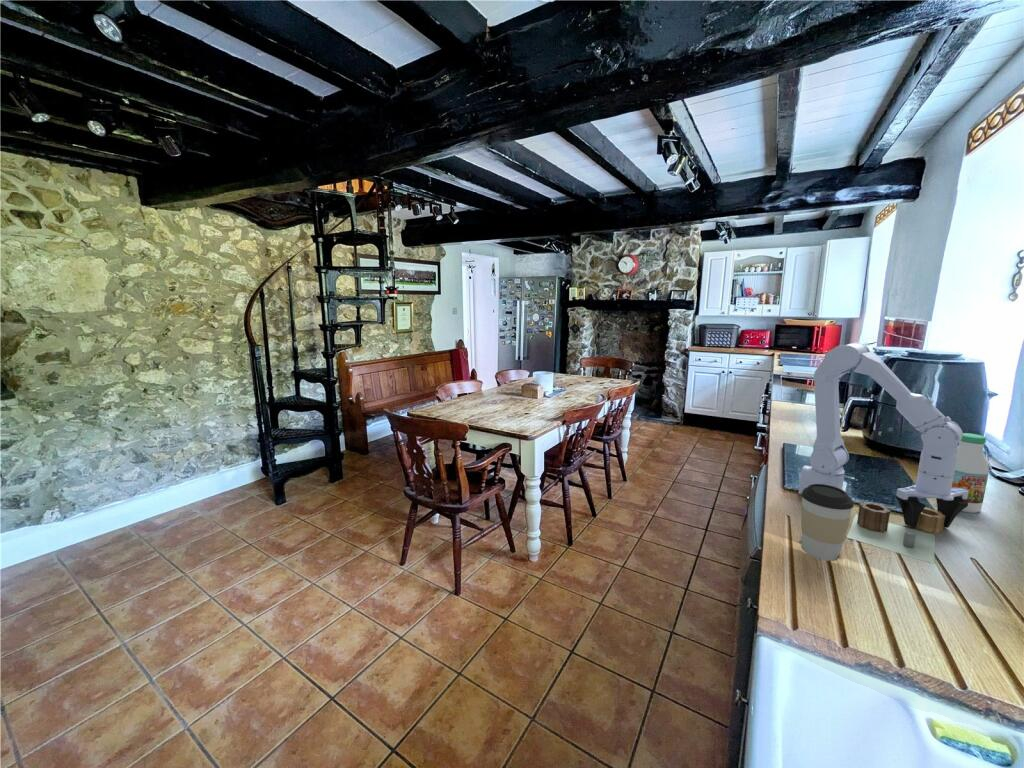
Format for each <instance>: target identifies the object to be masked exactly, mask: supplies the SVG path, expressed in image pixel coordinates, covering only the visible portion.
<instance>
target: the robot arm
mask: <svg viewBox="0 0 1024 768" xmlns="http://www.w3.org/2000/svg"><path fill="white" fill-rule="evenodd" d="M851 370H853V373H856V374H857V373H858V374H862V375H866V376H869V377H870V378H871V379H873V380H874V381H875V383H877V384H878V385H879V386H880V387H881V388H882V389H884V390H885V391H886V393H888V394H889V395H890V396H891V397H892V398H893V399H895V401H896V404H895V409H896V410H897V411H898V412H899V413H900V414H901V415H902V417H904V418H905V420H906V421H907V422H908V423H909V424H910V425H912V427H913V428H914V429H915V430H916V431H918V432H920V433H921V434H920V438H921V441H922V443H923V446H922V447H923V448H922V450H921V453H920V458H919V464H918V469H917V470H918V471H917V476H916V481H915V484H914V485H912V486H910V485H909V486H907V487H903V488H902V487H901V488H896V493H895V499H896V500H897V502H898V505H899V506H900V509H901V511H902V517H903V521H904V525H906V526H907V527H908V528H911V529H917V528H916V526H917V523H918V519H919V516H920V514H921V512H922V510H923V509H924V508H927V505H926V504H924V503H922V502H920V500H919V499H935V500H936V507H937V509H936V511H939V512H941V513H942V514H943V515H945V520H944V525H943V528H945V529H947V528H948V529H949V527H950V526H951V524H952V523H953V521H954V520H955V518H956V517H957V516H958V515H959V513H961V512H963V511H962V510H963V509H964V508H966V507H968V502H966V501H964V500H962V499H967V497H968V491H966V490H964V489H961V488H952V482H953V477H954V472H955V467H956V461H957V455H956V454H957V453H958V445H959V441H960V440H961V439H962V437H963V433H964V432H963V430H962V428H961V426H960V425H959V424H958V423H957V422H955V421H952V419H951V417H950V416H948V415H947V416H945V415H944V414H943V413H942V412H941V411H940V410H939V409H938V408H937V407H936V406H935V405H934V404H933V403H934V402H935V401H934V400H933V398H932V397H928V398H927V397H926V396H925V395H923V394H921V393H914V392H912V391H911V390H910V389H909V388H908V387H907V386H906V385H905V384H904V383H903V381H902V380H900V378H899V377H898V376H897V375H896V374H895V373H894V372H893V371H892V370H891V369H890V367H889V366H887V364H886V363H885V362H884V360H882V359H881V358H880V357H879V356H878V355H877V354H876V353H875V352H874V351H870V348H869V347H868V346H867V345H865V344H863V343H861V342H851V343H848V344H840V345H837V346H835V347H833V348H832V349H830V350H829V351H827V352H826V353H825V354H824V357H823V359H822V360H821V362H820V364H819V365H818V367H817V368H816V370H815V371H814V373H813V384H814V385H813V386H814V402H815V403H814V404H815V406H814V407H815V425H816V438H815V440H814V442H813V445H812V448H813V449H812V453H811V454H810V456H809V463H810V465H806V464H805V465H803V466H802V468H801V471H800V477H799V485H798V494H799V495H801V493H802V492H803V489H804V488H806V487H808V486H809V485H812V484H825V485H830V486H834V487H837V488H839V489H842V490H843V487H844V479H845V474H846V473H845V472H846V471H845V469H844V466H843V465H845V464H847V463H848V461H849V458H850V454H849V452H848V450H847V448H846V447H845V441H844V439H843V438H842V435H841V417H840V416H841V413H840V412H841V411H840V391H839V390H840V389H839V387H840V386H839V379H840V378H842V377H843V376H845V374H847V373H849V371H851Z"/></svg>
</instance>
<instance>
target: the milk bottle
mask: <svg viewBox="0 0 1024 768" xmlns="http://www.w3.org/2000/svg"><path fill="white" fill-rule="evenodd" d="M986 442H987V438H986V437H985V436H983V435H981V434H976V433H969V432H963V437H962V439H961V440H960V441H959V443H958V453H957V454H956V455H957V461H956V467H955V472H954V477H953V482H952V488H961V489H964V490H966V491H968V497H967V499H962V500H964V501H966V502H968V507H966V508H964V509H963V510H962V511H961V512H964V513H971V514H973V513H976V514H977V513H980V511H981V510H982V507H983V503H984V498H985V495H986V489H987V484H988V478H989V472H990V470H989V469H990V467H989V463H988V462H989V461H988V460H987V457H986V455H985V453H984V446H986V445H985V444H986Z"/></svg>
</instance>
